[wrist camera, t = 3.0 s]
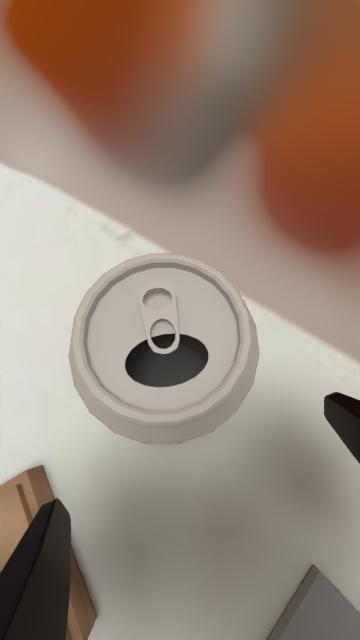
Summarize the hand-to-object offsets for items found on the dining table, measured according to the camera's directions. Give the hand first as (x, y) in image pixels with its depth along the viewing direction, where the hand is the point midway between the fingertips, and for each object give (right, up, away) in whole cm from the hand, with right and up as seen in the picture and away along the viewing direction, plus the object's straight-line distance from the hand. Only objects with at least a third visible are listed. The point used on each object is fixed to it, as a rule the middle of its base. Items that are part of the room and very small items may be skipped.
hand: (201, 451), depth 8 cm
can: (-1, 0, +12) cm, 12 cm away
